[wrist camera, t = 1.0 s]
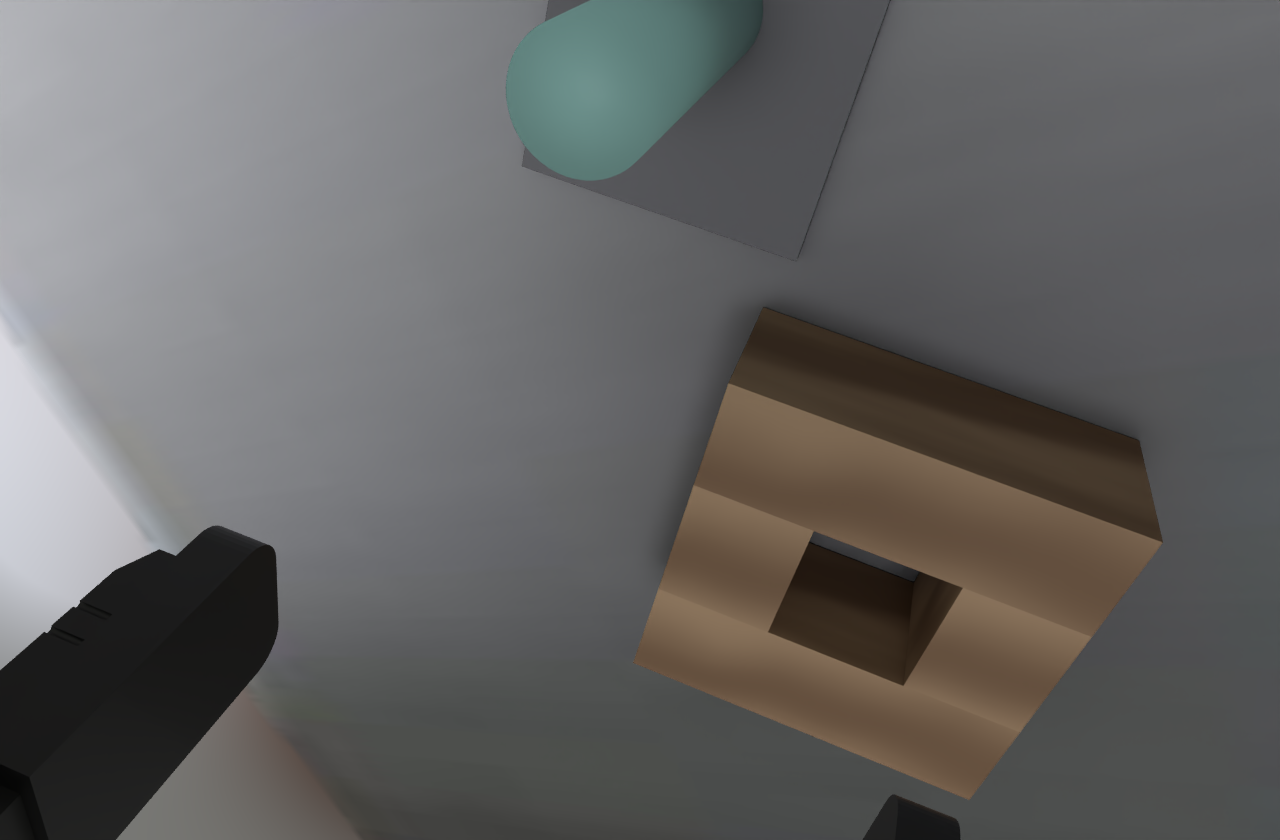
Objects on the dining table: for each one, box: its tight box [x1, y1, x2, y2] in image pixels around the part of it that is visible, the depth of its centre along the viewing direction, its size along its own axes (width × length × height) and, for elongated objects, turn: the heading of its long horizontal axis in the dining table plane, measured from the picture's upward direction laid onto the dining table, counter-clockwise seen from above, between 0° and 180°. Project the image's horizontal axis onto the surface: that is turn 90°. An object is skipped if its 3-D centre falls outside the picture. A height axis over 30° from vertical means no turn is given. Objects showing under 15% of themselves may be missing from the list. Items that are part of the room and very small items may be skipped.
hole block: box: [633, 307, 1163, 800], centre depth 31 cm, size 12×12×5 cm
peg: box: [506, 0, 763, 181], centre depth 22 cm, size 3×3×10 cm
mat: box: [522, 0, 890, 261], centre depth 26 cm, size 12×9×1 cm
